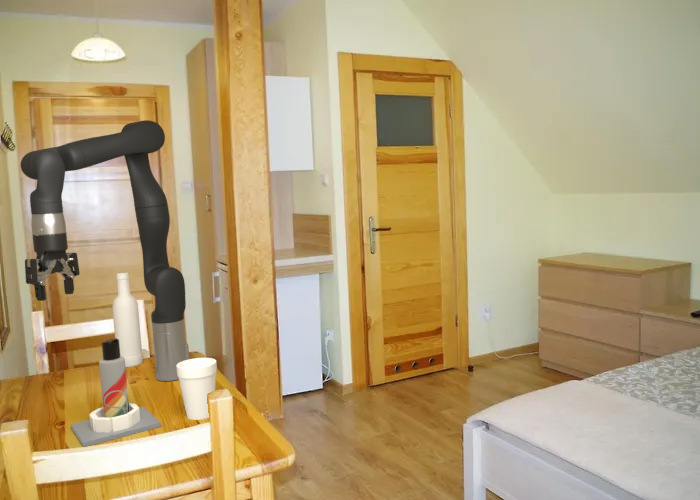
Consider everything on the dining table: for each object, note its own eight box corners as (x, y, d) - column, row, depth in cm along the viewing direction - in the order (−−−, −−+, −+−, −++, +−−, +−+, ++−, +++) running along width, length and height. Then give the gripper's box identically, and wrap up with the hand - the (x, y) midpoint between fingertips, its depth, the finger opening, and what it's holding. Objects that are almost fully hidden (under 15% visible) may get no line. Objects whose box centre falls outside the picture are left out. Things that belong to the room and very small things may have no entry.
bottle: (116, 363, 197) (108, 273, 194) (141, 359, 201) (133, 270, 198) (118, 369, 190) (110, 275, 187) (144, 364, 194) (136, 273, 191)
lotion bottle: (121, 426, 139) (113, 342, 137) (99, 425, 140) (91, 342, 138) (134, 417, 145) (127, 336, 143) (113, 416, 146) (106, 336, 144)
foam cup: (184, 409, 151) (181, 359, 150) (222, 406, 152) (218, 356, 151) (177, 423, 142) (173, 370, 140) (217, 420, 143) (213, 367, 141)
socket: (143, 410, 152) (142, 395, 151) (161, 426, 140) (159, 410, 140) (71, 428, 142) (69, 411, 142) (83, 447, 131) (81, 429, 130)
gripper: (60, 230, 155) (66, 291, 157) (12, 235, 142) (20, 302, 143) (83, 229, 153) (89, 292, 154) (36, 234, 139) (43, 303, 141)
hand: (55, 297), depth 149 cm, fingers open, 8 cm apart
